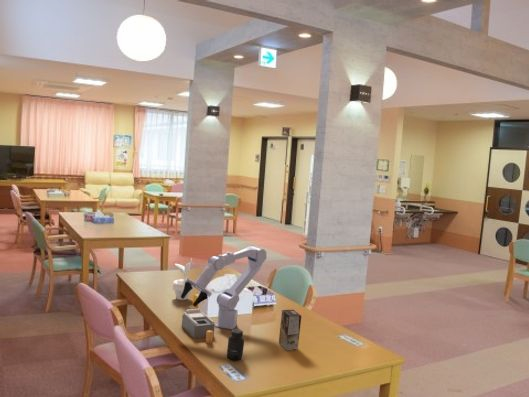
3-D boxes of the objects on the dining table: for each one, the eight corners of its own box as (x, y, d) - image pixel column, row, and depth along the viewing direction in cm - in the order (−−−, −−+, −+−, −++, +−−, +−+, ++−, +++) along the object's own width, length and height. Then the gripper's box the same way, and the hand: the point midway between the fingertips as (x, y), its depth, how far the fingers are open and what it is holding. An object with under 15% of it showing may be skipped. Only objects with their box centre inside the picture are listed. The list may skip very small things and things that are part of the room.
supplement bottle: (230, 362, 204) (232, 334, 203) (223, 355, 210) (226, 328, 209) (245, 360, 207) (247, 333, 206) (238, 354, 213) (241, 327, 212)
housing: (181, 326, 240) (182, 312, 239) (200, 324, 245) (201, 310, 244) (193, 338, 226) (195, 323, 225) (213, 336, 231) (215, 321, 230)
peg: (213, 341, 225) (214, 330, 224) (211, 343, 222) (212, 333, 221) (206, 340, 225) (207, 329, 225) (204, 342, 222) (205, 332, 222)
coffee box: (298, 349, 225) (302, 315, 224) (285, 350, 223) (289, 316, 221) (290, 342, 233) (293, 309, 232) (277, 342, 231) (281, 309, 230)
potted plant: (196, 299, 284) (200, 256, 282) (182, 303, 274) (186, 259, 272) (179, 294, 291) (183, 252, 289) (166, 297, 281) (169, 255, 279)
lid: (185, 314, 240) (186, 309, 239) (199, 313, 243) (199, 308, 243) (191, 319, 234) (191, 314, 233) (204, 317, 237) (205, 313, 237)
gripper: (191, 267, 235) (173, 291, 230) (214, 282, 228) (196, 306, 224) (195, 273, 240) (178, 296, 236) (218, 287, 234) (201, 311, 229)
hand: (187, 301), depth 230 cm, fingers open, 7 cm apart
